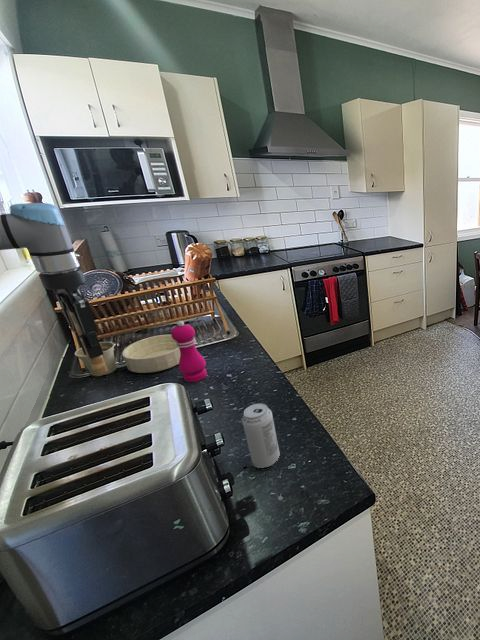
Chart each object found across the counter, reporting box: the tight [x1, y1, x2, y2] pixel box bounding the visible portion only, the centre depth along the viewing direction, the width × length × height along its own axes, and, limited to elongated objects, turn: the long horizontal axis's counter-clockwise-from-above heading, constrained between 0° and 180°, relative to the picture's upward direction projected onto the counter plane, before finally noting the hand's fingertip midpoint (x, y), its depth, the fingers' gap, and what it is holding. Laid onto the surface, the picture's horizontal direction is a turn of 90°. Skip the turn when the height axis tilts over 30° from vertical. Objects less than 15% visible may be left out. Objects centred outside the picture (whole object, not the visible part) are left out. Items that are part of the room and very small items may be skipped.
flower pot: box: [74, 341, 117, 377], centre depth 112 cm, size 9×9×9 cm
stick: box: [69, 312, 108, 374], centre depth 92 cm, size 3×3×20 cm
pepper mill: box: [170, 320, 208, 383], centre depth 108 cm, size 7×7×20 cm
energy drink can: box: [241, 402, 281, 469], centre depth 79 cm, size 6×6×15 cm
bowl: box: [121, 333, 180, 374], centre depth 119 cm, size 17×17×6 cm
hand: (94, 354), depth 94 cm, fingers closed on stick, 3 cm apart
